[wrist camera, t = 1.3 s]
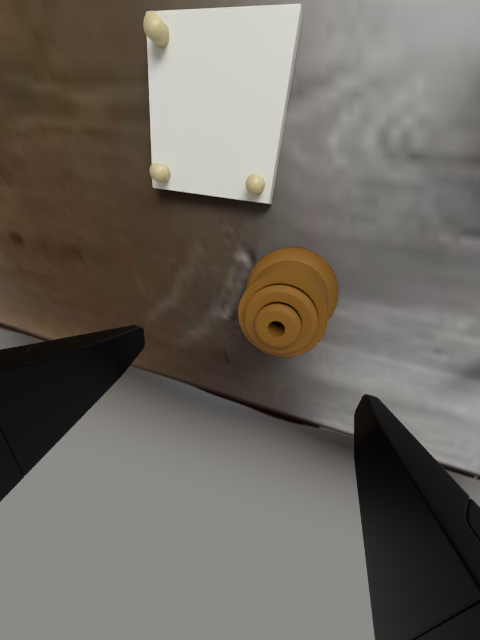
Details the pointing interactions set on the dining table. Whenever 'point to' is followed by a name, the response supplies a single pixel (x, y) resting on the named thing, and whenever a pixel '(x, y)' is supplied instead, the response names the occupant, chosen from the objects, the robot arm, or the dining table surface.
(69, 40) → the dining table surface
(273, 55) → the base plate
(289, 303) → the ornamental finial
